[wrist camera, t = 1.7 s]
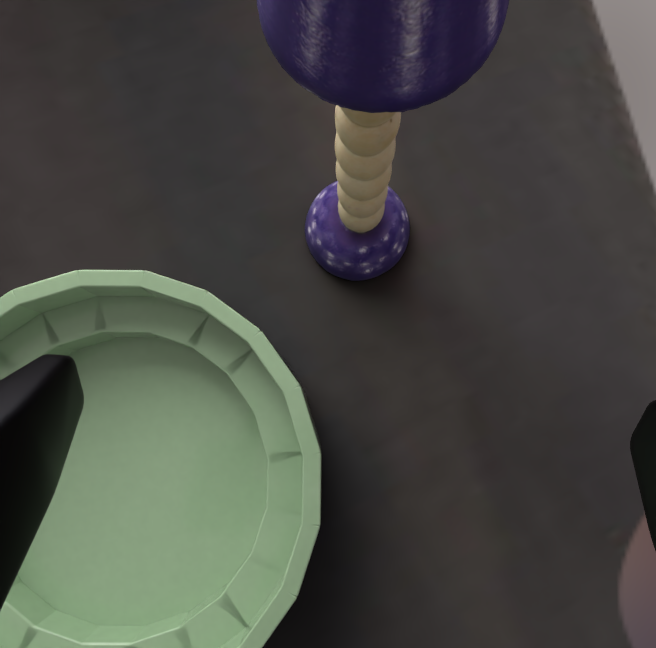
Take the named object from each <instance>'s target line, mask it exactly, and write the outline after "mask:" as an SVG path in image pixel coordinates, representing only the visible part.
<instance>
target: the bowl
mask: <svg viewBox="0 0 656 648" xmlns="http://www.w3.org/2000/svg"><path fill="white" fill-rule="evenodd" d="M45 354H55V355H67V356H70V357H72V358H73V359H74V361H75V363H76V367H77V370H78V374H79V378H80V382H81V385H82V389H83V393H84V405H83V410H82V413H81V416H80V419H79V422H78V425H77V428H76V431H75V434H74V437H73V440H72V443H71V446H70V449H69V452H68V455H67V458H66V461H65V464H64V467H63V470H62V473H61V476H60V479H59V482H58V485H57V488H56V490H55V493H54V496H53V498H52V500H51V503H50V505H49V507H48V510H47V512H46V514H45V516H44V518H43V520H42V522H41V525H40V527H39V529H38V531H37V533H36V535H35V538H34V540H33V542H32V544H31V546H30V548H29V550H28V553H27V555H26V557H25V559H24V561H23V563H22V566H21V568H20V570H19V572H18V574H17V576H16V579H15V581H14V583H13V585H12V587H11V589H10V591H9V594H8V596H7V598H6V600H5V602H4V604H3V607H2V609H1V611H0V648H263V646H264V645H265V643H266V642H267V640H268V639H269V638H270V636H271V635H272V633H273V632H274V630H275V629H276V628H277V626H278V625H279V623H280V622H281V621H282V619H283V618H284V616H285V615H286V613H287V612H288V611H289V609H290V608H291V606H292V605H293V603H294V602H295V601H296V599H297V596H298V595H299V592H300V589H301V585H302V582H303V579H304V576H305V573H306V570H307V567H308V564H309V561H310V557H311V554H312V551H313V548H314V545H315V542H316V539H317V536H318V532H319V529H320V524H321V495H322V448H321V442H320V439H319V436H318V433H317V429H316V426H315V423H314V420H313V417H312V413H311V410H310V407H309V404H308V400H307V397H306V394H305V391H304V390H303V387H302V386H301V384H300V383H299V382H298V380H297V379H296V377H295V376H294V374H293V373H292V372H291V370H290V369H289V367H288V366H287V365H286V363H285V362H284V360H283V359H282V357H281V356H280V355H279V353H278V352H277V350H276V349H275V348H274V346H273V345H272V343H271V342H270V341H269V340H268V338H267V337H266V336H265V334H264V333H263V332H262V331H261V330H260V329H259V328H258V327H256V326H255V325H253V324H252V323H251V322H249V321H248V320H247V319H245V318H244V317H243V316H241V315H240V314H239V313H237V312H236V311H235V310H233V309H232V308H230V307H229V306H228V305H226V304H225V303H224V302H222V301H221V300H220V299H218V298H217V297H216V296H214V295H213V294H212V293H210V292H208V291H207V290H204V289H201V288H198V287H195V286H192V285H189V284H186V283H183V282H180V281H177V280H174V279H171V278H168V277H165V276H162V275H158V274H155V273H152V272H149V271H144V270H79V271H78V270H75V271H72V272H69V273H65V274H62V275H59V276H55V277H52V278H49V279H45V280H42V281H39V282H36V283H32V284H29V285H26V286H22V287H19V288H16V289H13V290H11V291H9V292H8V293H6V294H5V295H3V296H2V297H0V380H2V379H3V378H5V377H7V376H8V375H10V374H12V373H13V372H15V371H17V370H18V369H20V368H22V367H23V366H25V365H27V364H28V363H30V362H32V361H33V360H35V359H37V358H38V357H40V356H42V355H45Z"/></svg>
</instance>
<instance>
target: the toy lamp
mask: <svg viewBox="0 0 656 648" xmlns="http://www.w3.org/2000/svg"><path fill="white" fill-rule="evenodd" d="M508 4H509V0H257V7H258V11H259V17H260V22H261V27H262V30H263V33H264V35H265V38H266V41H267V43H268V45H269V47H270V49H271V51H272V53H273V54H274V56H275V57H276V59H277V60H278V62H279V63H280V65H281V67H282V68H283V69H284V70H285V71H286V72H287V73H288V74H289V75H290V76H291V77H292V78H293V79H294V80H295V81H296V82H297V83H298V84H300V85H301V86H302V87H304V88H305V89H306V90H307V91H309V92H311V93H313V94H315V95H317V96H318V97H319V98H320V99H322V100H324V101H327V102H329V103H331V104H335V105H336V109H335V126H336V131H337V134H336V138H335V152H336V157H337V162H336V177H337V180H338V181H336V182H334V183H332V184H330V185H328V186H327V187H326V188H325V189H323V190H322V191H321V192H320V193H319V194H318V195H317V197H316V198H315V199H314V201H313V203H312V204H311V207H310V209H309V211H308V214H307V217H306V222H305V237H306V241H307V244H308V247H309V249H310V252H311V254H312V256H313V257H314V259H315V260H316V261H317V262H318V263H319V264H320V265H321V266H322V267H323V268H324V269H325V270H326V271H328V272H329V273H331V274H332V275H335V276H337V277H340V278H343V279H348V280H352V281H361V280H367V279H371V278H374V277H377V276H380V275H381V274H383V273H384V272H386V271H388V270H390V269H391V268H392V267H393V266H394V265H395V264H396V263H397V262H398V261H399V260H400V258H401V257H402V255H403V254H404V252H405V250H406V247H407V244H408V240H409V234H410V223H409V217H408V214H407V211H406V209H405V206H404V204H403V203H402V201H401V199H400V198H399V196H398V195H397V194H396V193H395V192H394V190H392V189H391V188H390V187H388V183H389V181H390V178H391V172H392V164H391V162H392V160H393V158H394V154H395V145H396V142H395V137H396V135H397V132H398V129H399V125H400V120H401V112H405V111H407V110H412V109H417V108H419V107H421V106H424V105H428V104H431V103H433V102H435V101H437V100H439V99H442V98H444V97H446V96H448V95H450V94H451V93H453V92H454V91H455V90H457V89H458V88H459V87H460V86H461V85H463V84H464V83H466V82H467V81H468V80H469V79H470V78H471V77H472V75H473V74H474V73H476V72H477V71H478V70H479V69H480V68H481V67H482V65H483V64H484V62H485V61H486V60H487V58H488V57H489V55H490V53H491V51H492V50H493V48H494V46H495V45H496V43H497V40H498V38H499V35H500V33H501V31H502V27H503V24H504V21H505V18H506V13H507V9H508Z"/></svg>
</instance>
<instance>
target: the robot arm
mask: <svg viewBox="0 0 656 648" xmlns="http://www.w3.org/2000/svg"><path fill="white" fill-rule="evenodd" d="M83 405H84V393H83V389H82V385H81V382H80V378H79V374H78V370H77V367H76V363H75V361H74V359H73V358H72V357H70V356H67V355H55V354H45V355H42V356H40V357H38V358H37V359H35V360H33V361H32V362H30V363H28V364H27V365H25V366H23V367H22V368H20V369H18V370H17V371H15V372H13V373H12V374H10V375H8V376H7V377H5V378H3V379H2V380H0V611H1V609H2V607H3V604H4V602H5V600H6V598H7V596H8V594H9V591H10V589H11V587H12V585H13V583H14V581H15V579H16V576H17V574H18V572H19V570H20V568H21V566H22V563H23V561H24V559H25V557H26V555H27V553H28V550H29V548H30V546H31V544H32V542H33V540H34V538H35V535H36V533H37V531H38V529H39V527H40V525H41V522H42V520H43V518H44V516H45V514H46V512H47V510H48V507H49V505H50V503H51V500H52V498H53V496H54V493H55V490H56V488H57V485H58V482H59V479H60V476H61V473H62V470H63V467H64V464H65V461H66V458H67V455H68V452H69V449H70V446H71V443H72V440H73V437H74V434H75V431H76V428H77V425H78V422H79V419H80V416H81V413H82V410H83ZM630 450H631V455H632V459H633V463H634V468H635V472H636V476H637V480H638V485H639V489H640V493H641V498H642V502H643V506H644V510H645V515H646V519H647V523H648V527H649V531H650V534H651V538H652V541H653V545H654V548H655V550H656V400H655V401H652V402H651V403H650V404H649V405H648V406H647V408H646V410H645V412H644V414H643V415H642V417H641V419H640V421H639V423H638V425H637V427H636V428H635V430H634V432H633V434H632V437H631V441H630Z"/></svg>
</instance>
